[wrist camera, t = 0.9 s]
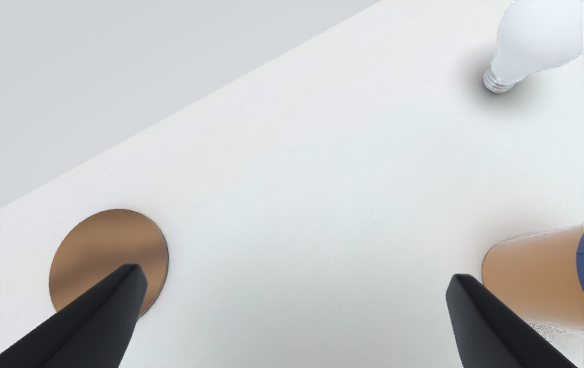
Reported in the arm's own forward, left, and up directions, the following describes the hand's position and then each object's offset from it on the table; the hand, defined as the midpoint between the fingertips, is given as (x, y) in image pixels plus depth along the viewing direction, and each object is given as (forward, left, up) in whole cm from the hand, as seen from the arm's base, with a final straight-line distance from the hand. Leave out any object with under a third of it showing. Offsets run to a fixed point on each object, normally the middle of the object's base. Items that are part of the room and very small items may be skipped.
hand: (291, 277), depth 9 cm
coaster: (+8, +16, -19) cm, 26 cm away
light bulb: (+9, -26, -19) cm, 34 cm away
